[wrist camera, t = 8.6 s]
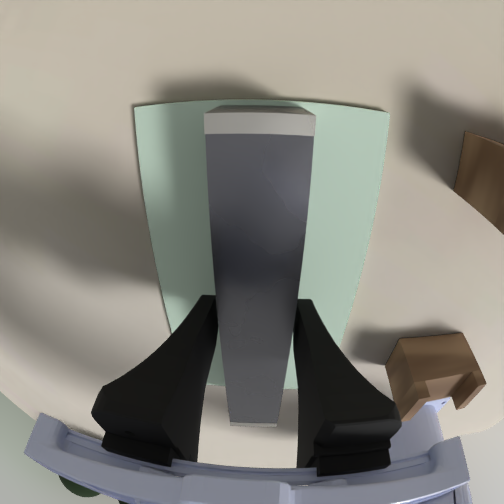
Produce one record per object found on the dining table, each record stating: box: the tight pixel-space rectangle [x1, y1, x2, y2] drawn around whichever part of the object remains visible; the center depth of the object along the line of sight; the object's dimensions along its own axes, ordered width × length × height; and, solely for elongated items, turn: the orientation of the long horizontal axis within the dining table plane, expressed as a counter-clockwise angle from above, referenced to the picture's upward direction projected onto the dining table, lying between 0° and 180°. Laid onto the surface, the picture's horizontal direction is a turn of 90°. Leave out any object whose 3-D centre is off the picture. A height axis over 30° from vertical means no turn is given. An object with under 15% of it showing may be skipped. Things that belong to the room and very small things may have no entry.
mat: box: [134, 99, 390, 389], centre depth 15 cm, size 18×10×1 cm, turn 0°
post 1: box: [385, 333, 487, 422], centre depth 15 cm, size 3×6×5 cm, turn 90°
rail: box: [204, 105, 316, 427], centre depth 13 cm, size 18×3×3 cm, turn 0°
